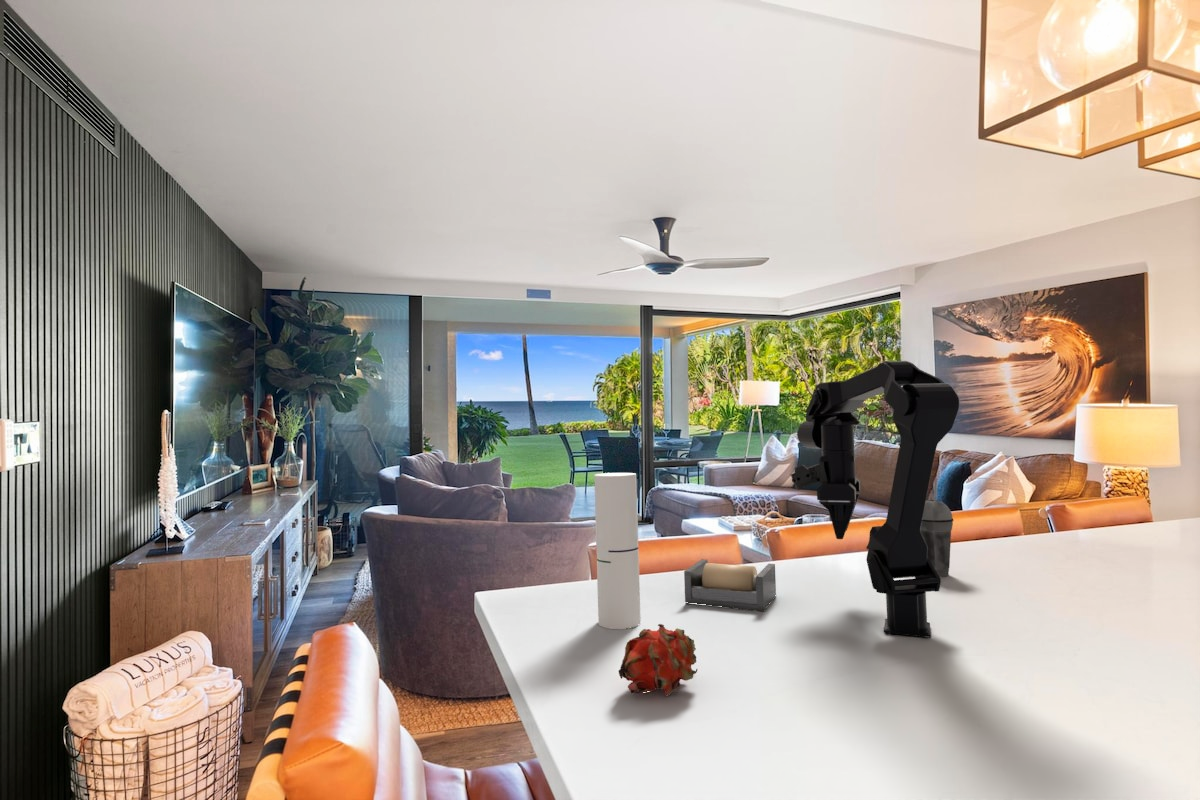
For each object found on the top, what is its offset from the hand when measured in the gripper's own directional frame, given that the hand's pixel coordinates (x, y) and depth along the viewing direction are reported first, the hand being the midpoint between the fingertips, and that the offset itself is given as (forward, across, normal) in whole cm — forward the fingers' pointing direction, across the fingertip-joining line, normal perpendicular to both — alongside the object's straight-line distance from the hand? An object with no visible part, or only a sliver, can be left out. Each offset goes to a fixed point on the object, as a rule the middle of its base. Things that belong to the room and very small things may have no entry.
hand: (841, 534), depth 122 cm
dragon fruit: (+12, +50, -19) cm, 55 cm away
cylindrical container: (+12, +26, -34) cm, 44 cm away
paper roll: (+11, +6, -20) cm, 23 cm away
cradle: (+12, +6, -20) cm, 24 cm away
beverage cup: (+12, -26, +16) cm, 33 cm away
